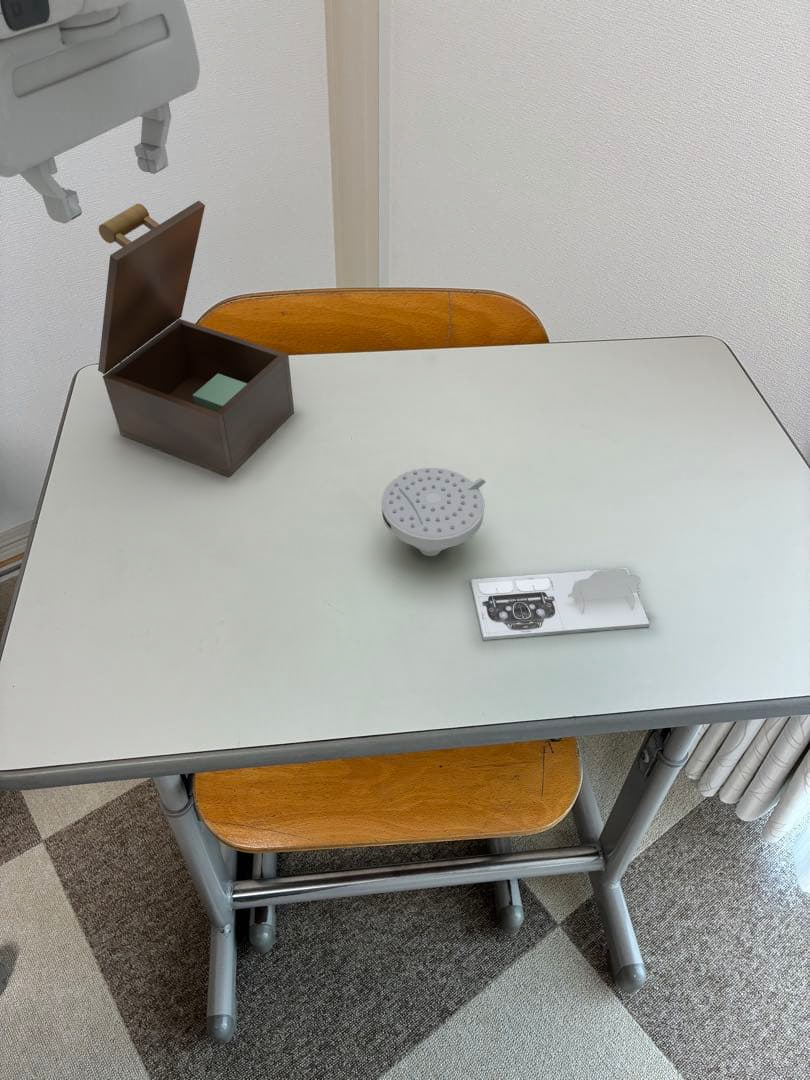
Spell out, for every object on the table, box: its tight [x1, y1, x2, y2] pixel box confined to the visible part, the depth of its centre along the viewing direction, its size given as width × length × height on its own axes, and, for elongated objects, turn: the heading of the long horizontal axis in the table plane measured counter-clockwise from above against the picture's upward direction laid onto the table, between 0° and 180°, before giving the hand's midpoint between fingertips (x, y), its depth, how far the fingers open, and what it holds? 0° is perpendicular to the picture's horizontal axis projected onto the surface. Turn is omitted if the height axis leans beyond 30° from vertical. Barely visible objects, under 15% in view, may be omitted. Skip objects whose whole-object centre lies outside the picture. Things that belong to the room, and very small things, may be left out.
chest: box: [102, 318, 295, 478], centre depth 87 cm, size 15×13×8 cm
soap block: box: [193, 374, 247, 412], centre depth 87 cm, size 4×4×4 cm
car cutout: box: [470, 567, 651, 641], centre depth 71 cm, size 15×7×4 cm, turn 96°
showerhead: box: [381, 467, 486, 557], centre depth 75 cm, size 9×7×10 cm
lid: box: [97, 200, 206, 375], centre depth 80 cm, size 15×13×5 cm
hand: (112, 192), depth 59 cm, fingers open, 8 cm apart
